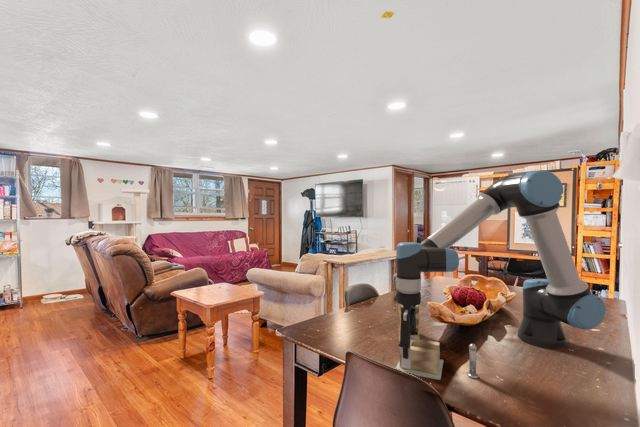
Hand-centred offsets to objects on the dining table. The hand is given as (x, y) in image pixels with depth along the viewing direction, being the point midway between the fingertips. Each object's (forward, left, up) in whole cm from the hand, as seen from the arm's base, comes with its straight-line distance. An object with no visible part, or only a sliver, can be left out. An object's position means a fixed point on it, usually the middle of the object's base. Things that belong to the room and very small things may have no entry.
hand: (408, 360), depth 101 cm
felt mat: (-3, 0, -1) cm, 4 cm away
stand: (-18, 0, -1) cm, 19 cm away
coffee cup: (+6, -27, -1) cm, 28 cm away
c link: (-3, 0, 0) cm, 4 cm away
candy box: (+3, -15, -1) cm, 15 cm away
